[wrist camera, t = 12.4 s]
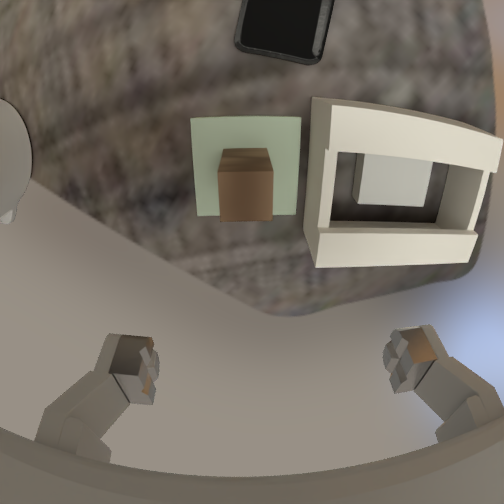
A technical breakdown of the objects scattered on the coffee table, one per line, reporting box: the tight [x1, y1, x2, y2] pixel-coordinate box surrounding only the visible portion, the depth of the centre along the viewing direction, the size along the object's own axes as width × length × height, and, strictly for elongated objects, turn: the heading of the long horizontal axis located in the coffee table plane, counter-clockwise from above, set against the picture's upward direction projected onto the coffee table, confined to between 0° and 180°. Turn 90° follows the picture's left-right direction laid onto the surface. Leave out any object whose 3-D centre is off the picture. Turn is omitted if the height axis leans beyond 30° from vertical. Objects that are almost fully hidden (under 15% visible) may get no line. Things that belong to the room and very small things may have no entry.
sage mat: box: [190, 116, 301, 216], centre depth 28 cm, size 10×10×1 cm
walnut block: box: [217, 148, 274, 222], centre depth 25 cm, size 4×4×7 cm
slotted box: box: [303, 97, 503, 268], centre depth 26 cm, size 18×14×7 cm
